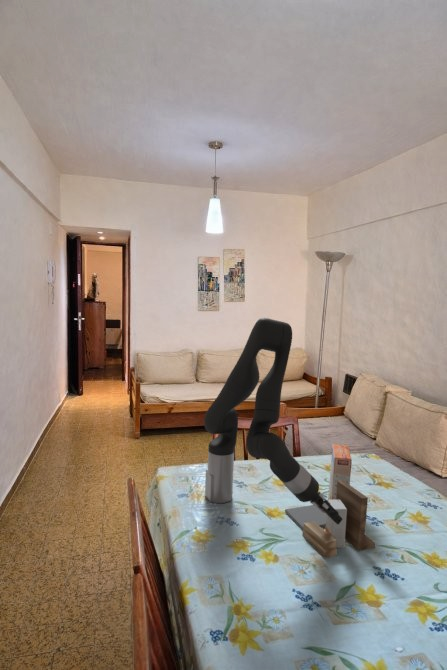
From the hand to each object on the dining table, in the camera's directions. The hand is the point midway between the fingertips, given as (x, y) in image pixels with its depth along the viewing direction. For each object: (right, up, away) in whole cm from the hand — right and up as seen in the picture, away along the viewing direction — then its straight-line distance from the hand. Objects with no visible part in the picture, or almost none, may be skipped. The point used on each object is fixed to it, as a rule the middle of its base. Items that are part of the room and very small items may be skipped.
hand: (331, 514), depth 127 cm
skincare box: (+1, -9, +2) cm, 10 cm away
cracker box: (+8, -8, +22) cm, 25 cm away
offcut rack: (+3, -9, +2) cm, 10 cm away
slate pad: (-3, -8, +15) cm, 17 cm away
